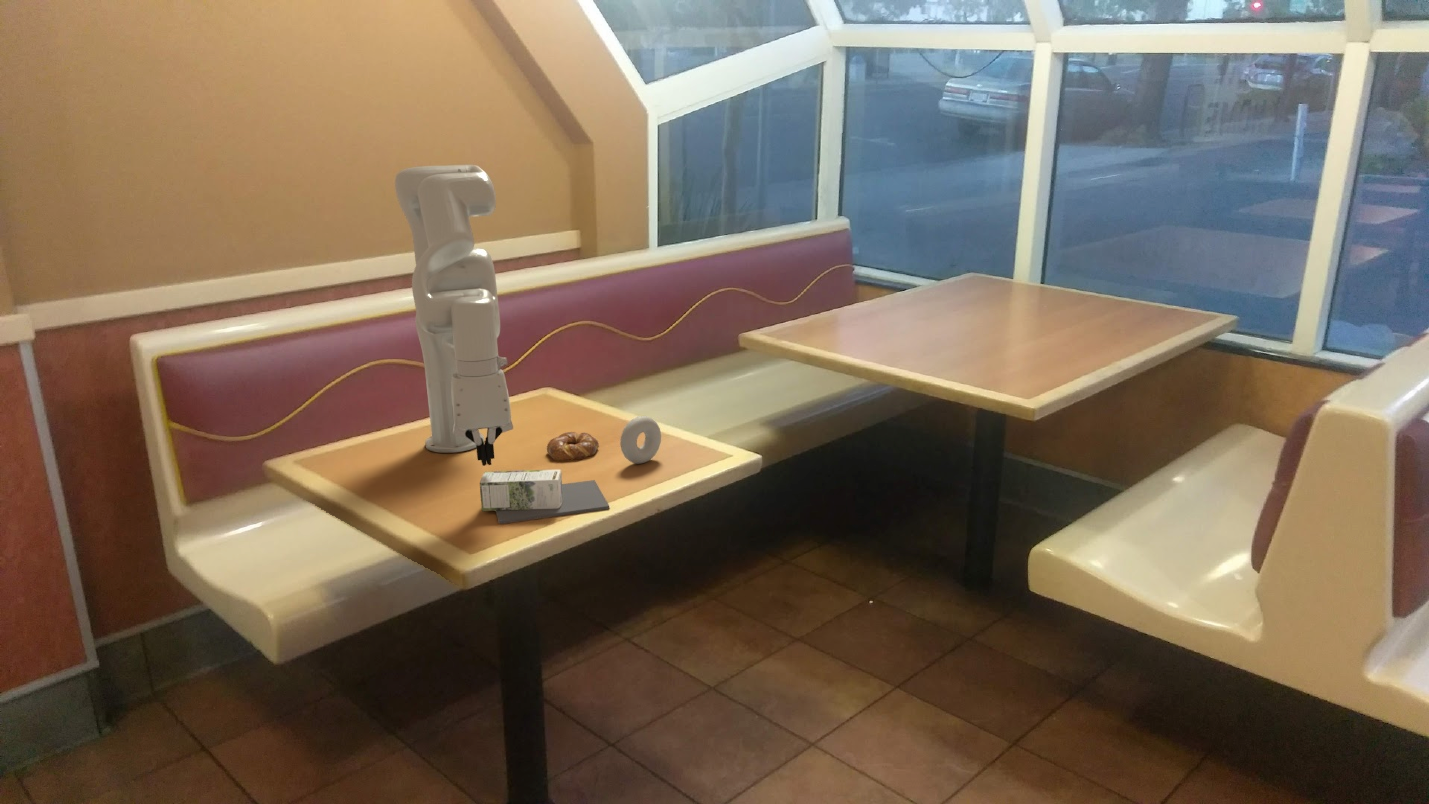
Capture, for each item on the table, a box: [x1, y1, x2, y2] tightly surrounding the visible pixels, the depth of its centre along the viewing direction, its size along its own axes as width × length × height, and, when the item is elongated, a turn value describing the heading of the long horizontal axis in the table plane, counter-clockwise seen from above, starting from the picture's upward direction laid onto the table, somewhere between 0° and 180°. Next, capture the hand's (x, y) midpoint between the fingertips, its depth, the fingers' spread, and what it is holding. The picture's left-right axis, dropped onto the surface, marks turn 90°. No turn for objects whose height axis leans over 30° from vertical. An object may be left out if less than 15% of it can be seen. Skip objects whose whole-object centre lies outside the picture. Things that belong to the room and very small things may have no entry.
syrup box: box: [479, 469, 563, 512], centre depth 186 cm, size 6×6×14 cm
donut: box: [619, 415, 662, 465], centre depth 208 cm, size 10×4×10 cm, turn 134°
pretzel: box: [546, 431, 600, 462], centre depth 215 cm, size 12×11×4 cm
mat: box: [495, 479, 610, 525], centre depth 189 cm, size 14×20×1 cm
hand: (486, 462), depth 185 cm, fingers closed
